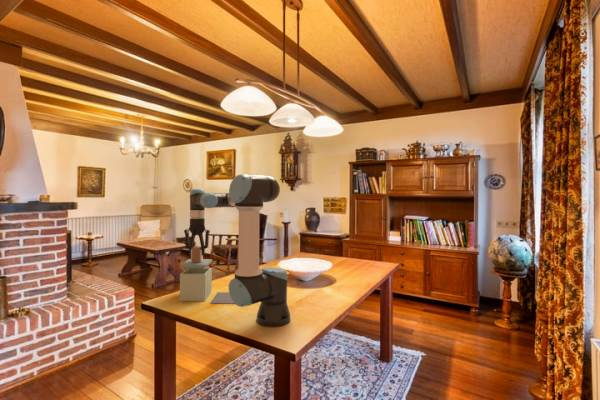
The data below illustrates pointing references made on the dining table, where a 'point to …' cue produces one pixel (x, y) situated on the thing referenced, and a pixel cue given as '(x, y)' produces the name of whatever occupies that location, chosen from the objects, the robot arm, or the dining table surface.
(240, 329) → the dining table surface
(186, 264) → the lid
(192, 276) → the box
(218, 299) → the mat
